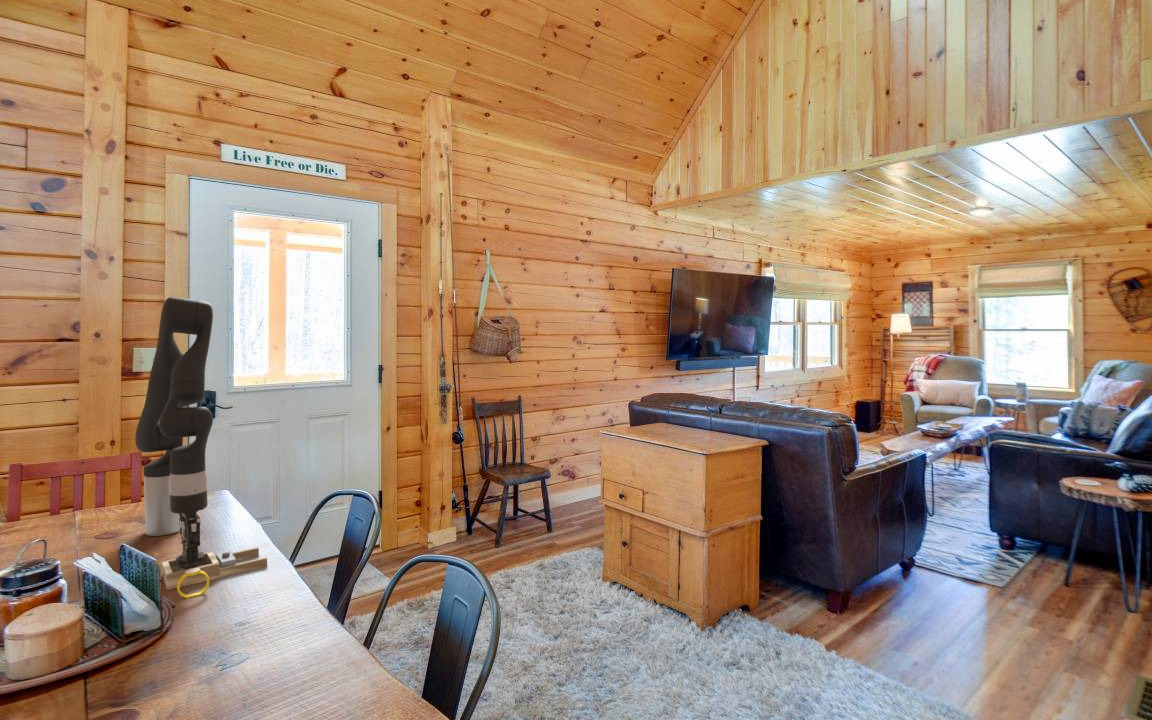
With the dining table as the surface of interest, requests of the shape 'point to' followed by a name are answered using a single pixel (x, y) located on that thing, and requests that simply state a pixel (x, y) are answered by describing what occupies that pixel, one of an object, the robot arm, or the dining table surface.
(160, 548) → the dining table surface
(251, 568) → the holder
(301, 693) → the dining table surface
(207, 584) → the watch
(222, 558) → the cover
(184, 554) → the dark stupa figurine
